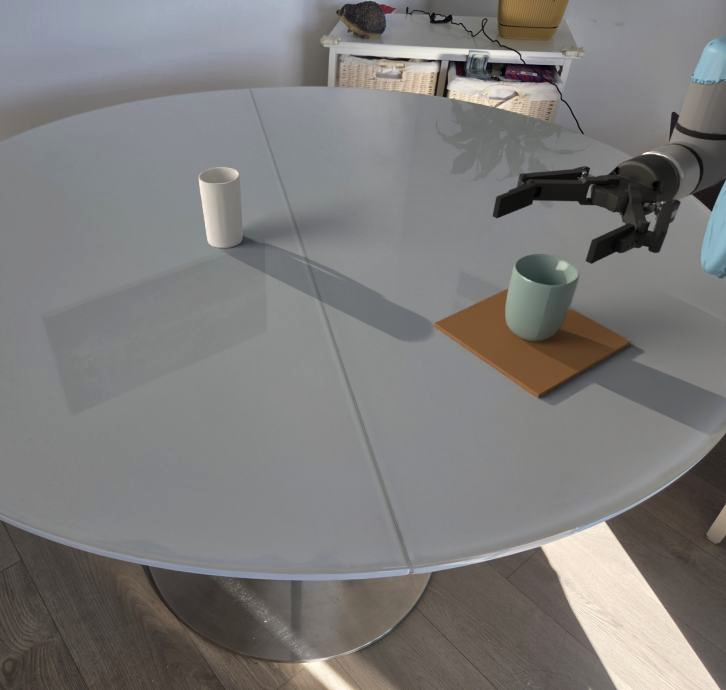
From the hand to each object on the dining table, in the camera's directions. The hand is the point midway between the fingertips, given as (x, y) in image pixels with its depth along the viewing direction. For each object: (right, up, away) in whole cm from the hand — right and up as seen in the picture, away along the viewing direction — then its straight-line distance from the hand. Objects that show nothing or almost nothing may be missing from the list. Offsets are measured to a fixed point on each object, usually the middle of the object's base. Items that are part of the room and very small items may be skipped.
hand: (540, 228), depth 75 cm
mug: (-40, +6, +38) cm, 56 cm away
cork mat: (+4, -12, +12) cm, 18 cm away
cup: (+4, -12, +12) cm, 17 cm away
